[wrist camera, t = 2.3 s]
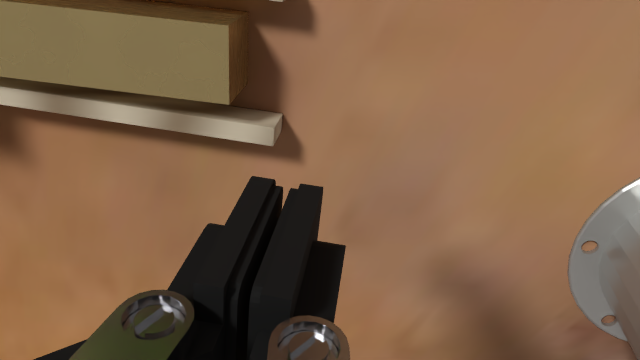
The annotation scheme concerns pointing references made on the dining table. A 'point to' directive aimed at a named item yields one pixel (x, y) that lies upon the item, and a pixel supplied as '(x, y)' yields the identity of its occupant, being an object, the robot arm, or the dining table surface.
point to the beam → (145, 110)
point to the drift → (127, 47)
